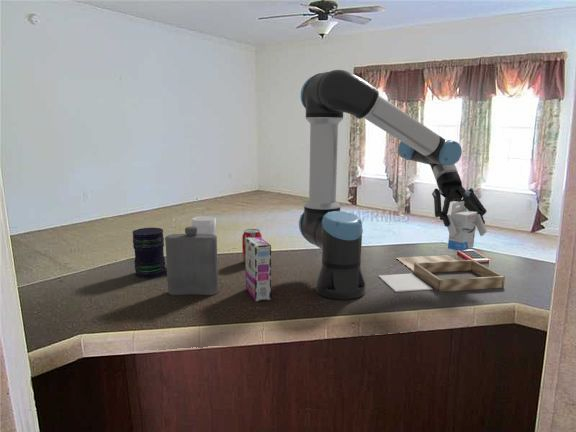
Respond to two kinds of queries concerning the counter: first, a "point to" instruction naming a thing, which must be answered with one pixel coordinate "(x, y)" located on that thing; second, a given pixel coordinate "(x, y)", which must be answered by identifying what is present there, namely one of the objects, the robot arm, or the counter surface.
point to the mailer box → (445, 263)
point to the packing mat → (405, 282)
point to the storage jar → (149, 253)
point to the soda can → (248, 234)
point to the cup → (204, 224)
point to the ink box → (462, 228)
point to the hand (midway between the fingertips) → (468, 234)
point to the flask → (192, 263)
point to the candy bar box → (258, 268)
